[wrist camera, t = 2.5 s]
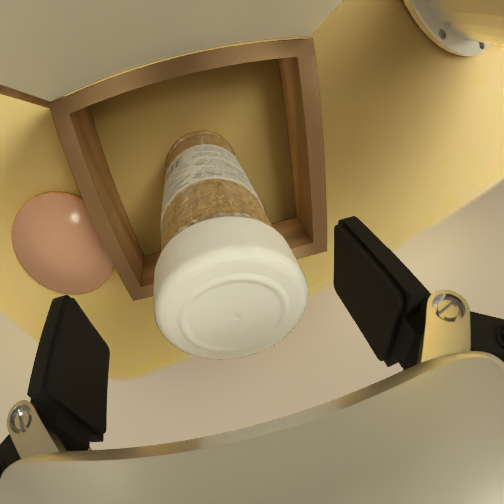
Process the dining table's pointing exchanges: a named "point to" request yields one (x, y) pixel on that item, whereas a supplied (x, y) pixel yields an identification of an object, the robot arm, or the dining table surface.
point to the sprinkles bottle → (221, 258)
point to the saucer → (60, 244)
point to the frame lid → (132, 35)
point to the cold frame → (77, 104)
